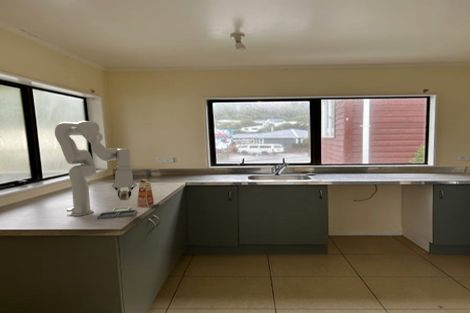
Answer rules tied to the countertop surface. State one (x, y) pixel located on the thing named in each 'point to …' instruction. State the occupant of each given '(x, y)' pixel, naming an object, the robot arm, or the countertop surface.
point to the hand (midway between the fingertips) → (124, 197)
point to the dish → (121, 209)
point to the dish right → (127, 213)
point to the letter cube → (124, 195)
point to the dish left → (108, 215)
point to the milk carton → (145, 194)
